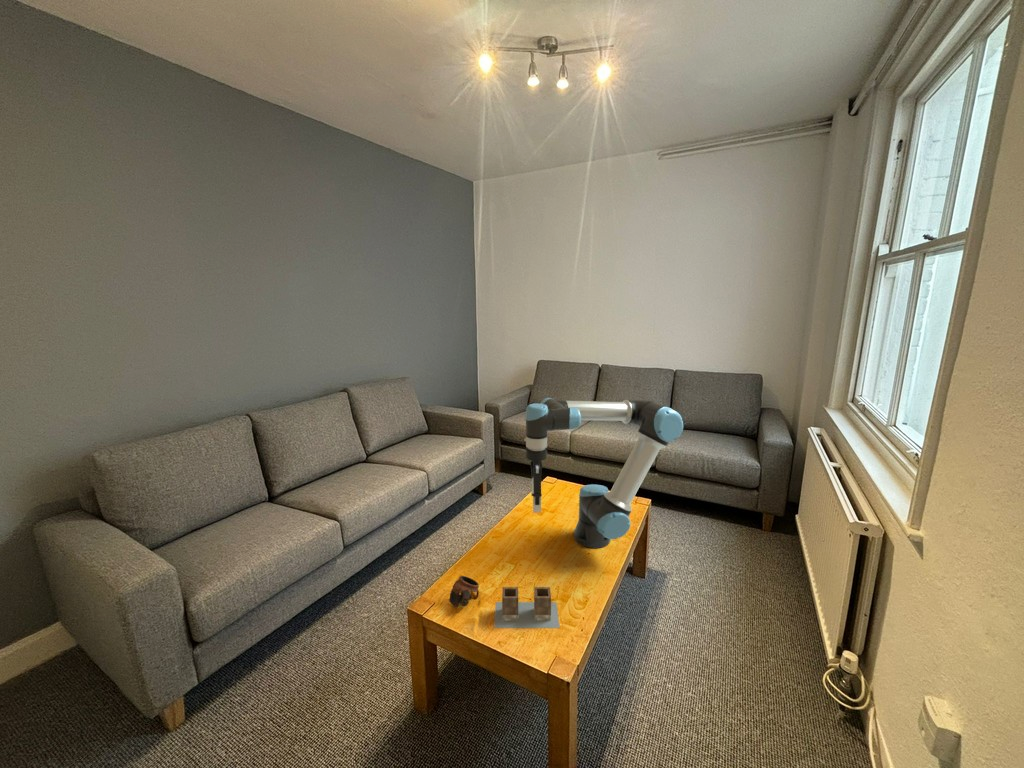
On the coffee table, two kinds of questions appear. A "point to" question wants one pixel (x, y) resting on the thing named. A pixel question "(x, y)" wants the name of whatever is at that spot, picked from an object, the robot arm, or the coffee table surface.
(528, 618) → the pin board
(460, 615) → the coffee table surface
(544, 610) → the sleeve seated
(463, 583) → the pottery mug
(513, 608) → the sleeve loose
